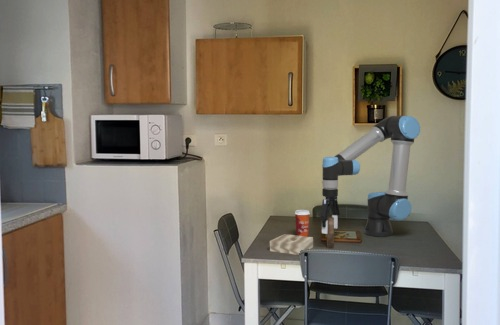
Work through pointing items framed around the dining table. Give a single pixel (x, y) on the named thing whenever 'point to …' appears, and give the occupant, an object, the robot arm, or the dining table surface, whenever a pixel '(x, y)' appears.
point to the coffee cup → (302, 222)
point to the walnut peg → (330, 233)
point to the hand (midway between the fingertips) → (329, 230)
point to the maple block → (291, 244)
